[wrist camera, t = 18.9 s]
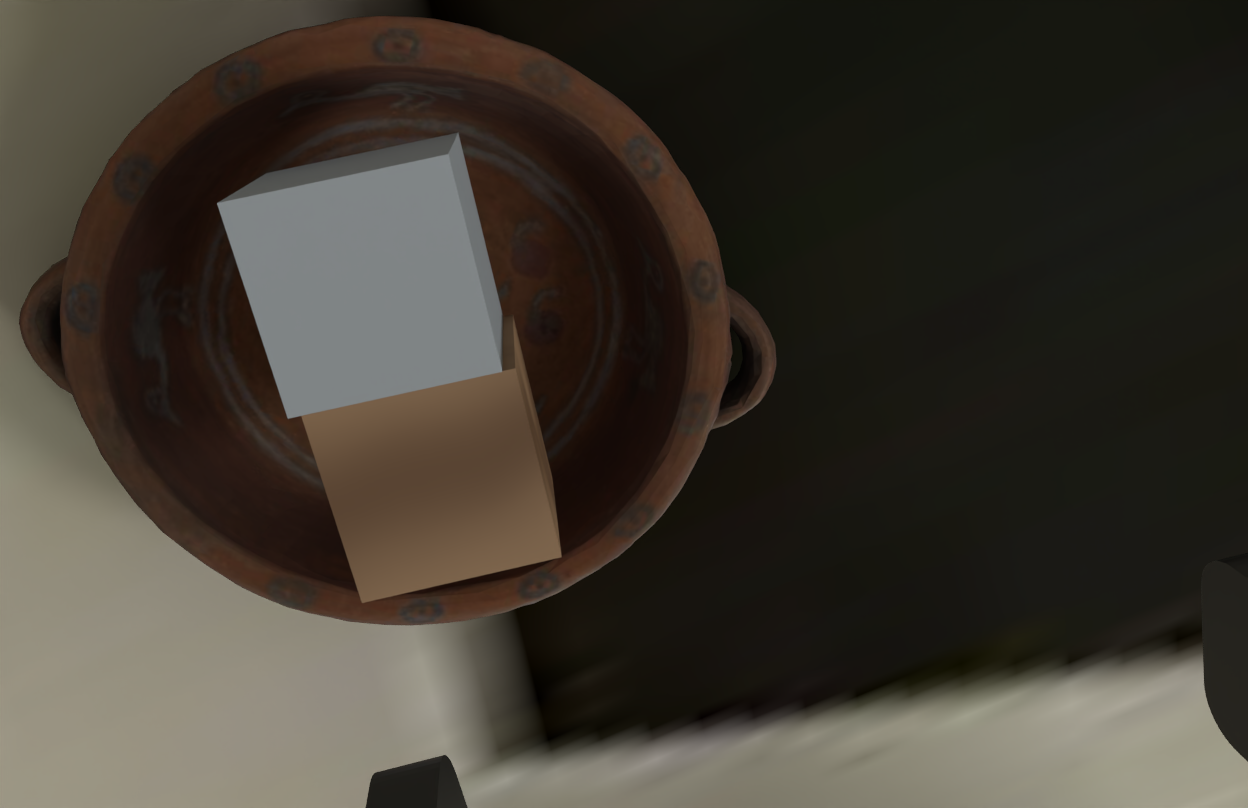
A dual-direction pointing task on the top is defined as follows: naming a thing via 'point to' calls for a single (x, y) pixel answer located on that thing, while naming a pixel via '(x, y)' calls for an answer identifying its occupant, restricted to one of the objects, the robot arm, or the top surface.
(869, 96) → the top surface
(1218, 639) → the robot arm
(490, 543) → the walnut block
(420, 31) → the dish
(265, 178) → the grey block
